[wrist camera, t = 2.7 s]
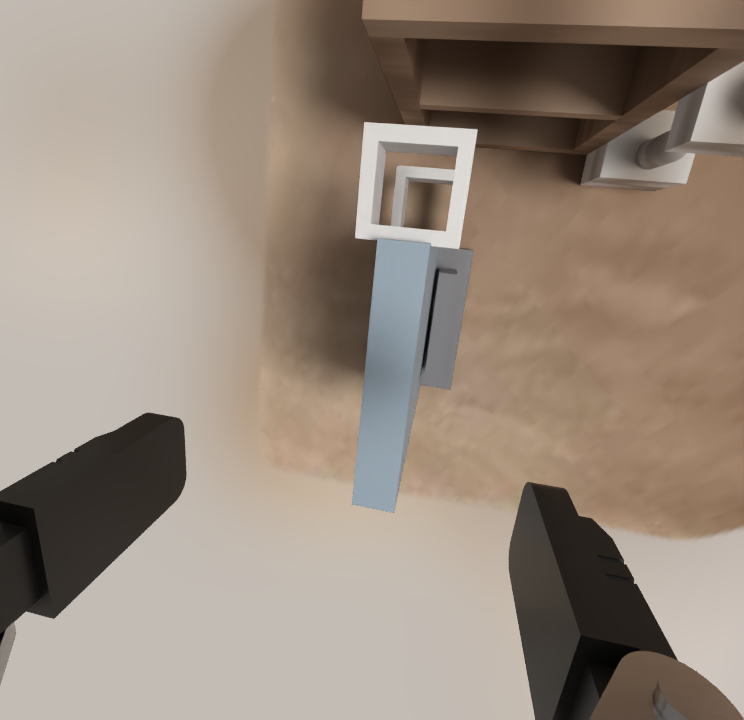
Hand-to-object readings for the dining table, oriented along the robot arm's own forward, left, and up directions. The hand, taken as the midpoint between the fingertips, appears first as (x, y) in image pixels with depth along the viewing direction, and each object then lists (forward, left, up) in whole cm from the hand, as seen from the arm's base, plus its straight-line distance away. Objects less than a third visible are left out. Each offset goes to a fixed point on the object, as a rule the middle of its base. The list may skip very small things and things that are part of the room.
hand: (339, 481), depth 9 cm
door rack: (0, +1, -25) cm, 25 cm away
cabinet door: (0, -1, -24) cm, 24 cm away
